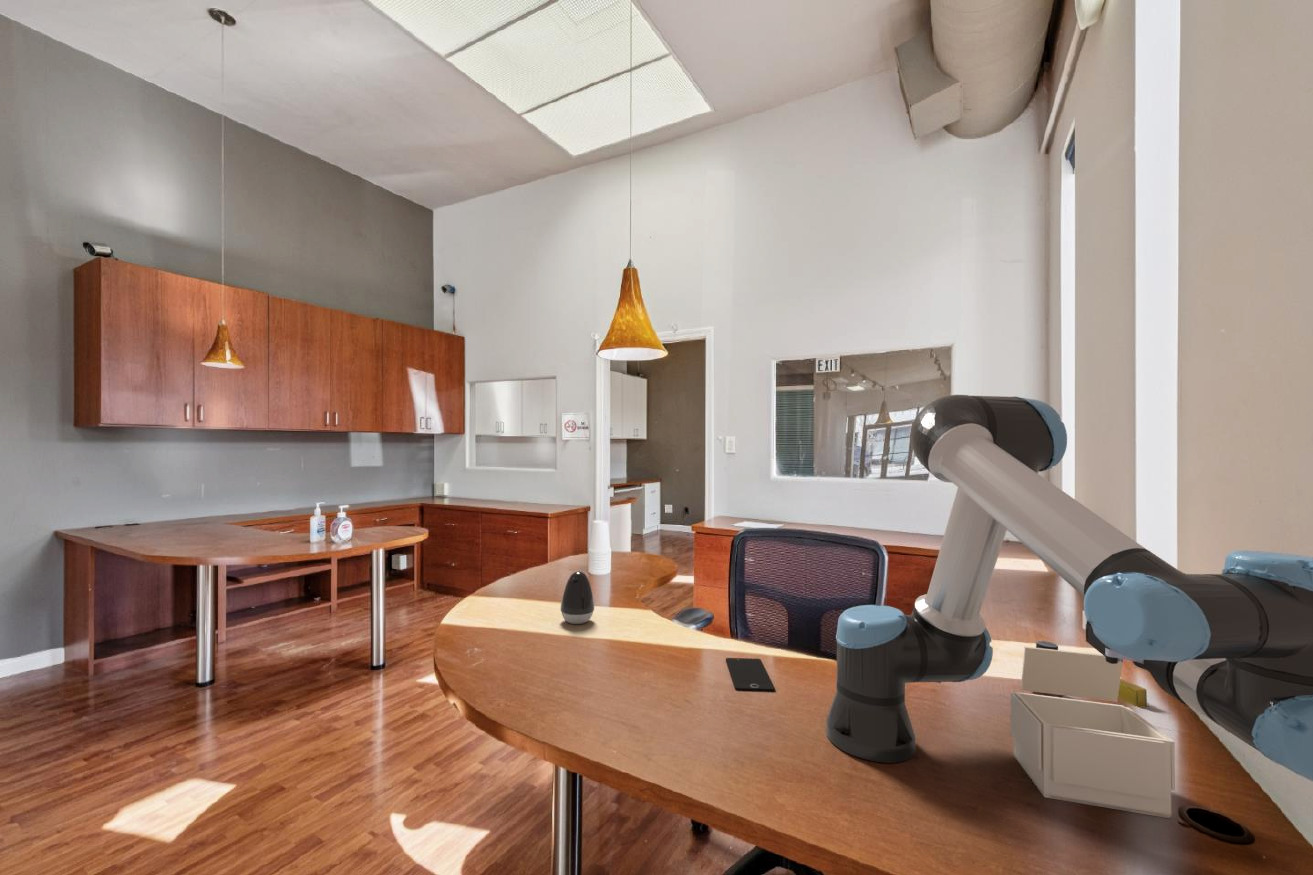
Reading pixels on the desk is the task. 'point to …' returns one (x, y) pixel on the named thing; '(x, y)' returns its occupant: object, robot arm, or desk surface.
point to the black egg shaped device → (577, 599)
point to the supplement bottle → (1047, 646)
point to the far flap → (1070, 674)
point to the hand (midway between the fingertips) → (1097, 620)
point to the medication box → (1132, 693)
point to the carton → (1093, 753)
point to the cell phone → (749, 675)
